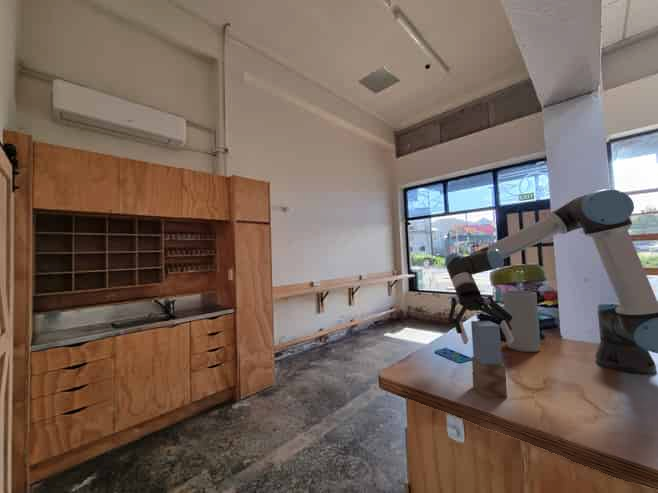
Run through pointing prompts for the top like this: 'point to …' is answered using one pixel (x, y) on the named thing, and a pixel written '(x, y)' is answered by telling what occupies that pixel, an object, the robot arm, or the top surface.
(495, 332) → the blue block
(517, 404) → the top surface
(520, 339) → the grey cylinder
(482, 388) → the tower base
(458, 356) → the handheld gaming device
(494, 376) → the tower top
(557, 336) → the top surface
